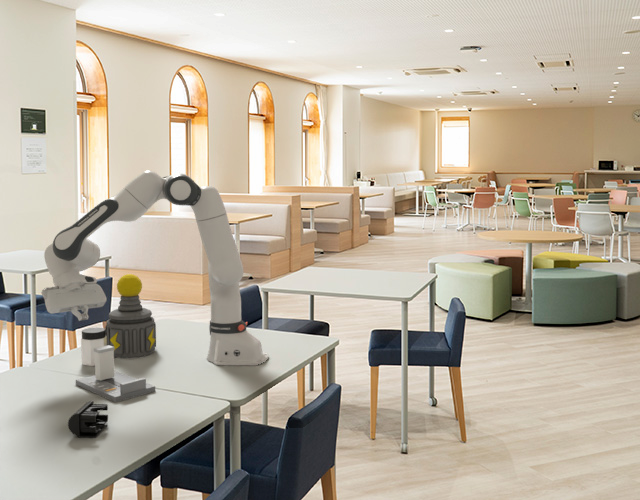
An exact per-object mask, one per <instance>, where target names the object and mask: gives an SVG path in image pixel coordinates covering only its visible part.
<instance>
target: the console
mask: <svg viewBox="0 0 640 500" xmlns="http://www.w3.org/2000/svg"><path fill="white" fill-rule="evenodd" d="M75 385H76V386H78V387H80V388H83V389H85V390H86V391H89V392H92V393H94V394H96V395H98V396H100V397H103V398H105V399H107V400H110V401H112V402H114V403H118V402H121V401H122V402H123V401H126V400H129V399H131V398H136V397H140V396H143V395H147V394H150V393H154V392H156V386H155V385H153V384H150V383H148V382H147V379H146V378H145V377H140V378H135V377H132V376H129V375H127V374H125V373H122V372H120V371H117V370H114V377H113V378H109V379H105V380H98V379H96V377H95V374H94V375H90V376H86V377H82V378H77V379H75Z"/></svg>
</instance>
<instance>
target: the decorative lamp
mask: <svg viewBox="0 0 640 500" xmlns="http://www.w3.org/2000/svg"><path fill="white" fill-rule="evenodd" d="M116 289H117V292H118V294H119V295H120V300H119V303H118V304H119V305H118V307H117V308H116V309H114V310H111V311H110V312H109V313H108V319H107V320H106V323H105V327H104V329H105V330H106V336H107V345H110V346H113V347H114V358H117V359H134V358H136V359H137V358H142V357H146V356H149V355H151V354H154V352H155V350H156V348H157V331H156V330H157V325H156V322H155V318H154V317H153V316H152V314H153V313H152V311H151V310H150V309H148V308H145V307H143V305H142V304H141V303H142V302H141V300H140V296H139V295H140V293H141V291H142V289H143V283H142V281H141V279H140V278H139V277H138V276H137V275H135V274H133V273H127V274H124V275H122V276H121V277H120V278H119V280H118V281H117V283H116Z"/></svg>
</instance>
